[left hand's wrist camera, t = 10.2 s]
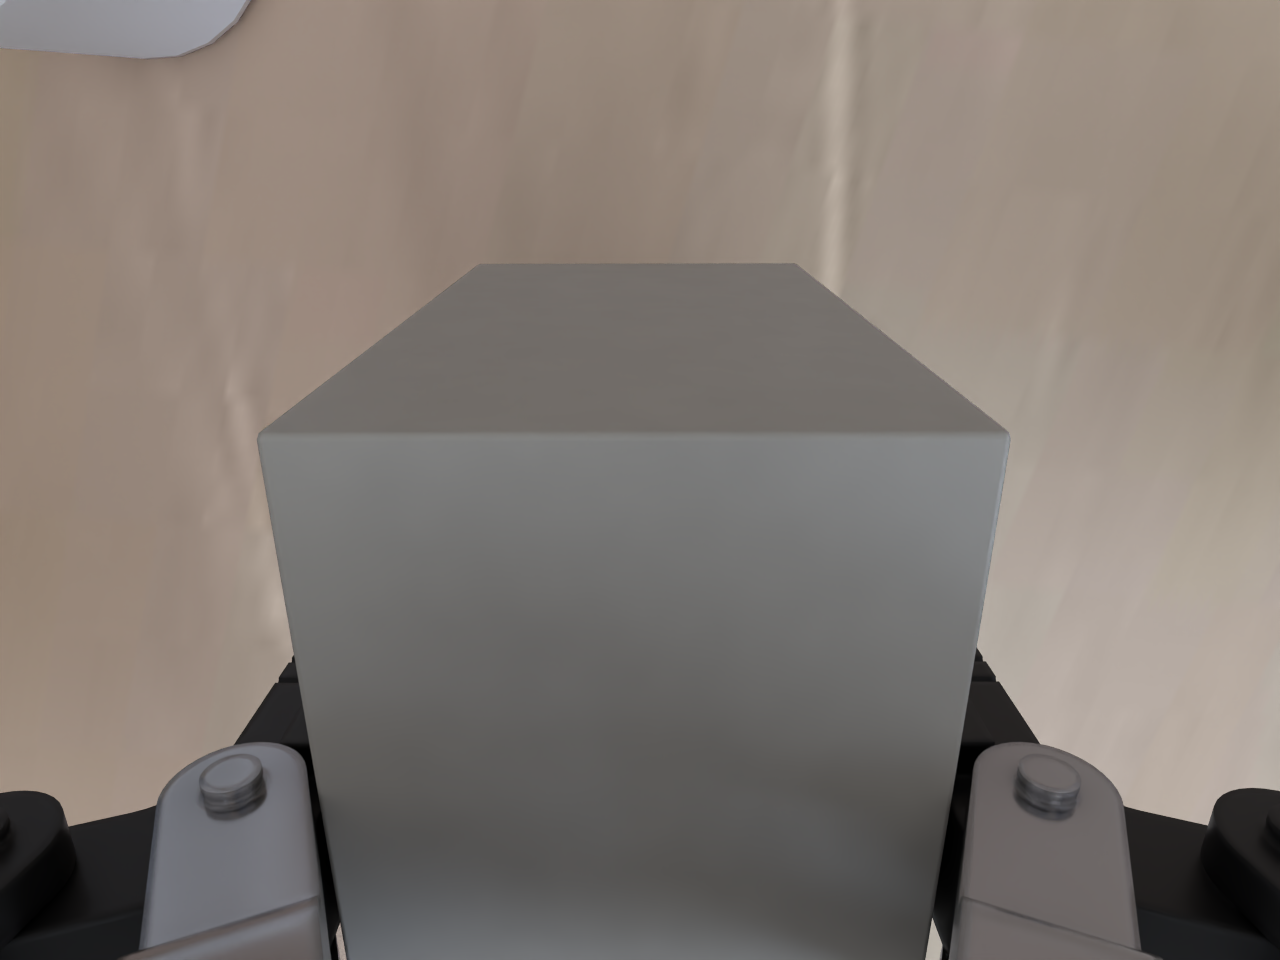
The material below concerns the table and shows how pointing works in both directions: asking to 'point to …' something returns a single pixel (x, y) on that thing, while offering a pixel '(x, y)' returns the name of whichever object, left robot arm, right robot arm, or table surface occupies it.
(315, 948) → the left robot arm
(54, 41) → the mug
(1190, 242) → the table surface
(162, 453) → the table surface
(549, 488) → the bar
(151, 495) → the table surface
